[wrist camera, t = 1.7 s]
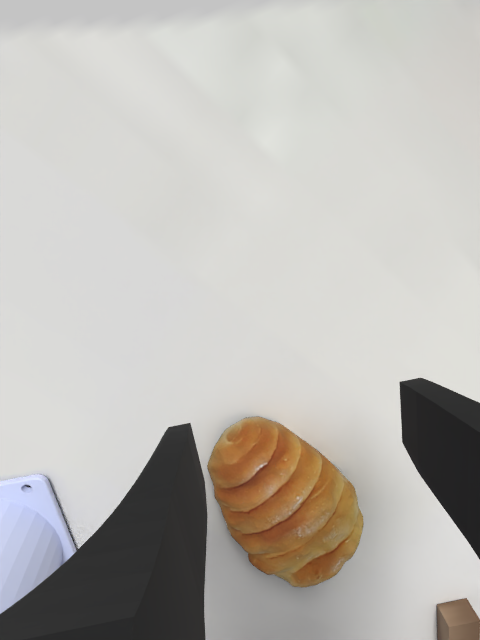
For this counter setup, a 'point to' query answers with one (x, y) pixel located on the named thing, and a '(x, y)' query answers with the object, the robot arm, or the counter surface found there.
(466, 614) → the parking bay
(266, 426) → the pastry
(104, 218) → the counter surface
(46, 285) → the counter surface
